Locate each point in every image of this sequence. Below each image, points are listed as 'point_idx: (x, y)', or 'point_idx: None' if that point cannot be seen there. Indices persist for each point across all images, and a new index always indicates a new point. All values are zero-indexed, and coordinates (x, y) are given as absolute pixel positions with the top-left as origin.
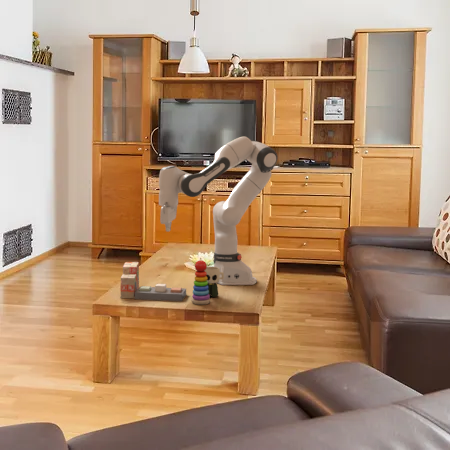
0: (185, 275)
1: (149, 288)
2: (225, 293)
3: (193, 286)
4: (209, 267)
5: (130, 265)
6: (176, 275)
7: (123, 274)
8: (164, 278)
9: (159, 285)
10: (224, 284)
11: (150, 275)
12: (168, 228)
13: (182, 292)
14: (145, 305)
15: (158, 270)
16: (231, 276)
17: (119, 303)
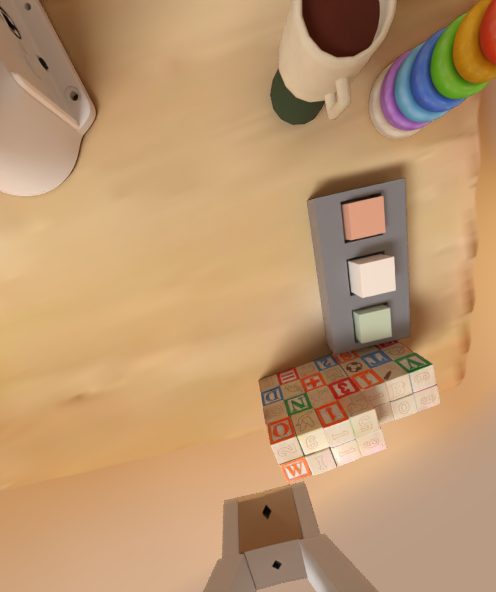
0: (24, 320)
1: (380, 309)
2: (228, 49)
3: (456, 105)
4: (307, 38)
5: (352, 439)
6: (45, 348)
7: (385, 420)
8: (112, 364)
9: (387, 278)
10: (91, 102)
11: (97, 418)
12: (319, 531)
13: (376, 187)
14: (457, 270)
15: (12, 429)
16: (26, 55)
17: (447, 342)
